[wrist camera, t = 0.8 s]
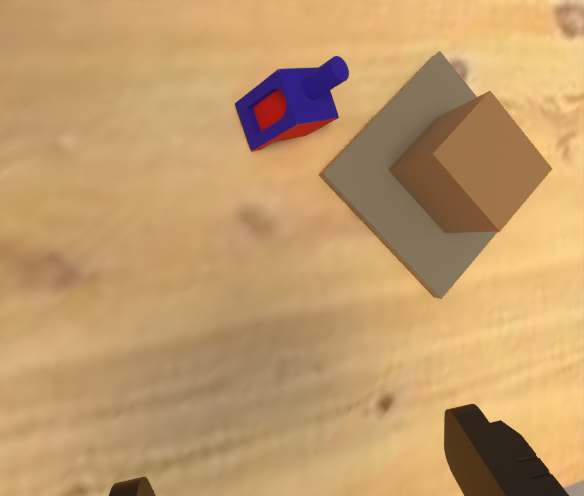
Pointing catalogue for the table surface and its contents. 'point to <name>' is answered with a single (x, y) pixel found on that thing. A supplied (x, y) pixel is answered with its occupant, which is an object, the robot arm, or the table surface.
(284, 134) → the toy building block
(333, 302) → the table surface
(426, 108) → the plate
